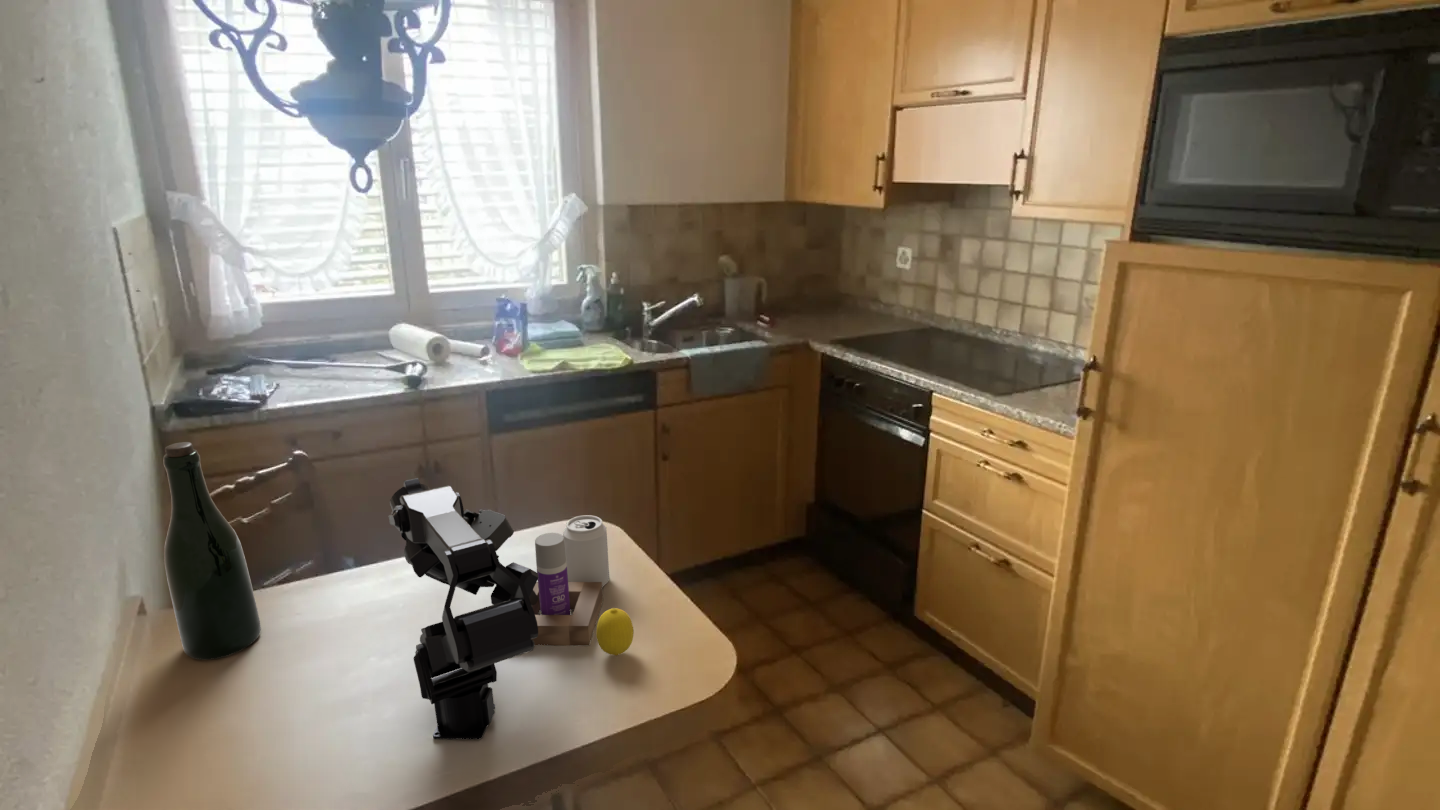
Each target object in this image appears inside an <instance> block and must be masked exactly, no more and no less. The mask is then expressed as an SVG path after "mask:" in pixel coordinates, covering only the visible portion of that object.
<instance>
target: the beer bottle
mask: <svg viewBox="0 0 1440 810" xmlns="http://www.w3.org/2000/svg"><path fill="white" fill-rule="evenodd" d="M164 451H165V454H164V455H163V462H162V463H163V466H164V469H165V471H166V474H167V475H166V476H167V480H168V485H169V491H170V497H171V498H170V502H171V511H170V521H169V525H168V530H167V532H166V533H167V535H166V538H165V543H164V547H163V549H164V550H163V552H164V555H163V556H164V557H163V559H164V561H163V562H164V568H165V574H166V579H167V585H168V589H169V594H170V599H171V602H172V607H173V611H174V616H175V620H176V625H177V630H178V633H179V637H180V641H181V645H182V648H183V652H184V654H186V656H188V657H189V658H192V659H194V660H195V659H196V660H201V661H202V660H203V661H204V660H207V661H208V660H216V659H222V658H224V657H228V656H231V655H234V654H236V653H239V652H240V651H242V650H244V649H245V648H247V647H248V646H250V645H251V644H253V643H254V642H255V641H256V640H257V639H258V637H259V636H260V634H261V632H262V626H261V620H260V619H261V618H260V615H259V611H258V606H257V601H256V597H255V592H254V589H253V585H252V580H251V577H250V573H249V569H248V564H247V559H246V557H245V554H244V553H245V552H244V550H243V547H242V543H241V540H240V539H239V536H238V535H237V532H236V531H235V529H234V528H233V527H232V525H231V524H230V522H229V521H228V520H227V519H226V518H225V516H223V514H222V512H221V511H220V509H218V507H217V505H216V504H215V502H214V501H213V499H212V496H211V494H210V491H209V489H208V486H207V483H206V479H205V477H204V473H203V470H202V464H201V455H200V454H199V452H198V450H197V449H194V445H193V443H192V442H190V441H182V442H181V441H180V442H176V443H171V444H170V445H167V446H165V448H164Z"/></svg>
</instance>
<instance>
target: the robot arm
mask: <svg viewBox="0 0 1440 810" xmlns="http://www.w3.org/2000/svg"><path fill="white" fill-rule="evenodd" d="M389 507H391V510H392V511H391V513H390V514H389V515H388V516H387V517H388V520H389V525H390V526H394V527H395V529H396V530H398V532H399V534H400V535H401V537H402V539H403V540H404V541H405V546H404V548H403V549H404V550H403V555H404V558H405V560H406V562H407V563H408V565H411V566H412V567H411V568H412V569H413V572H414V573H415V575H416V576H417V577H418V578H422V577H423V576H426V577H429V578H431V579H433V580H434V581H437V582H440V583H442V584H443V585H444V584H445V585H448V586H449V589H448V593H447V595H446V599H445V603H444V608H443V612H442V616H441V618H442V619H441V621H440V622H437V623H436V622H435V623H433V624H430V625H428V626H426V627H423V628H420V629H421V634H420V635H419V642H420V643H419V644H415V645H416V646H415V652H414V653H415V655H414V657H413V659H412V660H413V663H414V667H415V668H414V669H415V671H416V672H415V673H416V676H417V679H418V684H419V689H420V696H421V698H422V699H424V700H429V702H430V703H431V705H434V712H435V718H436V724H437V725H436V727H435V729H434V731H433V733H432V737H433V739H434V740H481V739H482V738H483V737H484V735H485V733H486V731H487V728H488V727H489V726H490V724H491V722H492V720H493V717H494V716H495V713H496V703H495V702H494V701H495V700H494V692H493V688H492V687H491V686H489V684H491V683H495V682H497V681H498V680H497V676H498V673H497V669H496V665H495V664H497V663H500V662H502V661H505V660H508V659H512V658H515V657H517V656H520V655H523V654H525V653H529V652H532V651H533V650H534V648H535V646H536V645H535V643H534V640H533V639H534V638H536V637H538V625H537V620H536V617H535V614H534V611H533V608H532V605H536V603H537V601H538V599H539V597H538V596H537V595H536V593H535V592H534V590H533V588H534V586H535V584H536V582H538V578H539V577H538V573H537V571H536V570H533V569H532V568H529V567H526V566H525V565H522V564H518V563H516V562H514V561H513V562H511V563H509V564H507V565H506V566H505V565H504V564H502V563H501V561H500V560H499V558H500V556H499V554H497V551H498V550H499V549H500V548H501V547H502V546H503V545H504V544H505V543H506V541H508V539H509V538H512V536H513V535H514V533H515V530H514V529H513V526H512V525H511V523H510V522H509V520H508V519H507V517H506V515H505V514H502V513H500V512H496V511H494V510H491V509H485V510H483V509H481V508H480V509H479V510H478V512H479V513H477V512H475V511H471V510H469V509H465V510H464V505H463V500H462V497H461V495H460V493H459V492H458V491H455V490H454V488H453V486H451V485H445V486H439V487H434V488H430V487H429V486H428V485H426V484H422V483H421V482H420V479H419V478H418V477H417V478H412V479H407V480H403V486H402V487H400V488H399V489H398V490H396V491H395V492H394V493H393V495H392V496H391V498H390V499H389ZM494 586H495V587H494ZM493 587H494V589H493V590H492V593H490V601H491V605H488V606H485V607H482V608H479V609H475V610H472V611H469V612H466V613H462V614H460V615H459V614H458V615H456V616H454V615H453V612H452V609H451V606H452V605H451V604H452V602H453V599H454V595H455V591H456V588H458V589H461V590H462V591H463V590H464V591H466V592H468V593H470V594H472V595H475V596H476V595H477V594H478V592H479V591H480V588H493ZM531 639H532V640H531Z"/></svg>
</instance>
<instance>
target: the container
mask: <svg viewBox="0 0 1440 810" xmlns="http://www.w3.org/2000/svg"><path fill="white" fill-rule="evenodd" d="M534 546H535V561H536V562H535V563H536V572H537V573H538V577H539V578H538V580H537V582H538V589H539V599H540V615H572V613H571V610H570V600H569V587H568V574H567V563H566V554H565V544H564V537H563V534H561V533H558V532H547V533H546V532H545V533H543V534H540V535H538V536H537V537H536V538H535V539H534Z"/></svg>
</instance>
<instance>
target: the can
mask: <svg viewBox="0 0 1440 810" xmlns="http://www.w3.org/2000/svg"><path fill="white" fill-rule="evenodd" d="M562 535H563V537H564V544H565V554H566V563H567V574H568V582H602V588H603V587H604V586H605V585H606V584H608V583H609V581H610V567H609V565H610V564H609V562H610V561H609V545H608V533H607V526H606V525H605V524H603V520H602V518H600V517H598V516H596V515H591V514H589V515H588V514H587V515H586V514H585V515H577V516H575V517H572V518H570V519H569V520H567V522H566V525H565V528H564V530H563V531H562Z"/></svg>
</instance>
